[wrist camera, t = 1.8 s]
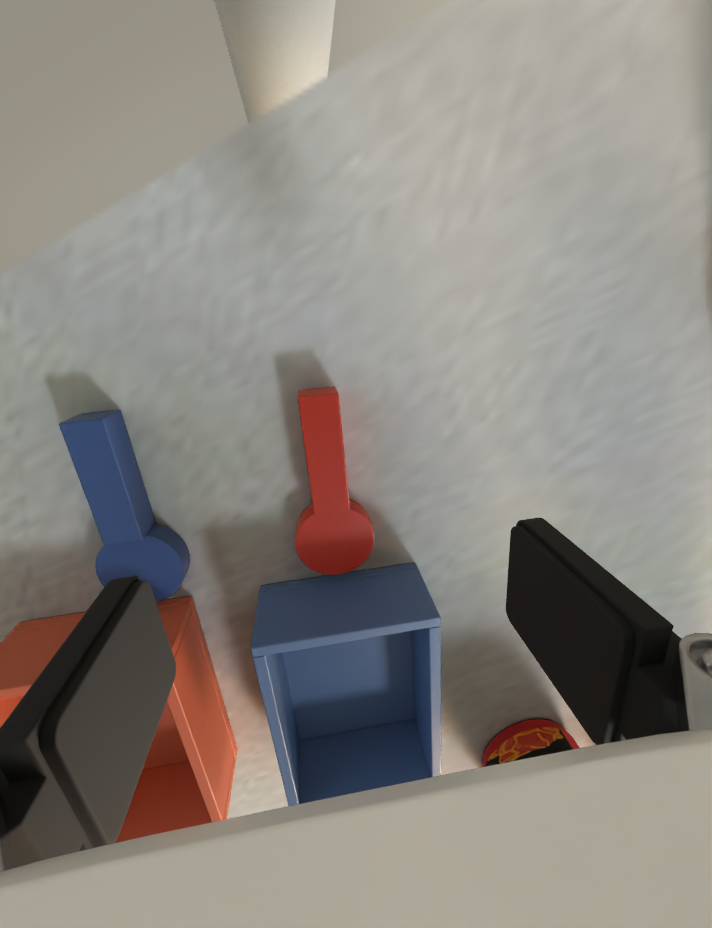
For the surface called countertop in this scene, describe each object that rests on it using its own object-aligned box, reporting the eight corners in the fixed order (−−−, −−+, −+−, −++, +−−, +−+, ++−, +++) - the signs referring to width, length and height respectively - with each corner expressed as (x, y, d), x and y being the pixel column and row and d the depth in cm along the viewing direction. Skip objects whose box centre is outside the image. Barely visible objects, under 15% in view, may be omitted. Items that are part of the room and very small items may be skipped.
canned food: (553, 700, 30) (686, 904, 19) (580, 756, 32) (708, 957, 22) (463, 745, 30) (546, 966, 20) (498, 795, 33) (586, 1010, 23)
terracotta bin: (19, 621, 21) (-51, 698, 17) (192, 595, 22) (166, 662, 18) (98, 774, 26) (58, 864, 22) (237, 748, 27) (225, 830, 23)
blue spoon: (52, 416, 18) (27, 426, 16) (147, 406, 18) (132, 415, 17) (120, 594, 22) (104, 617, 20) (198, 582, 22) (189, 604, 20)
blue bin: (259, 585, 22) (250, 648, 18) (415, 561, 23) (440, 616, 19) (292, 738, 27) (291, 816, 23) (420, 714, 28) (441, 785, 24)
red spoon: (272, 392, 19) (270, 400, 17) (359, 383, 19) (364, 390, 17) (301, 567, 22) (301, 587, 21) (373, 556, 23) (379, 575, 21)
